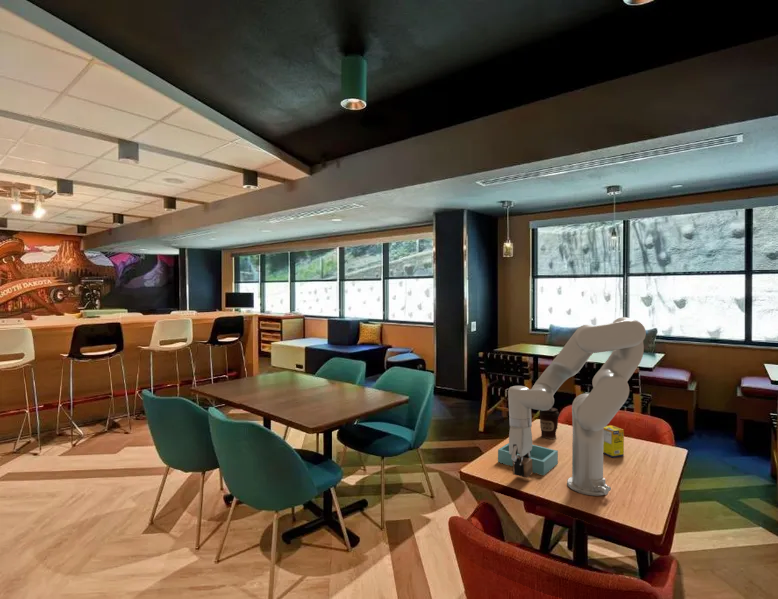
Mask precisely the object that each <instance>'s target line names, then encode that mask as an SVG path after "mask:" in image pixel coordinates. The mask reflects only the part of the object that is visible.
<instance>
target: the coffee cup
mask: <svg viewBox="0 0 778 599" xmlns="http://www.w3.org/2000/svg"><path fill="white" fill-rule="evenodd" d="M538 413H539V422H540V423H539V424H540V426H539V427H540V432H541V437H542V438H545V439H548V440H555V439H557V435H556V433H557V429H558V425H559V416H560V412H559V409H558V408H556V407H551V408H550V409H549V410H544V411H543V410H539V412H538Z"/></svg>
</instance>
